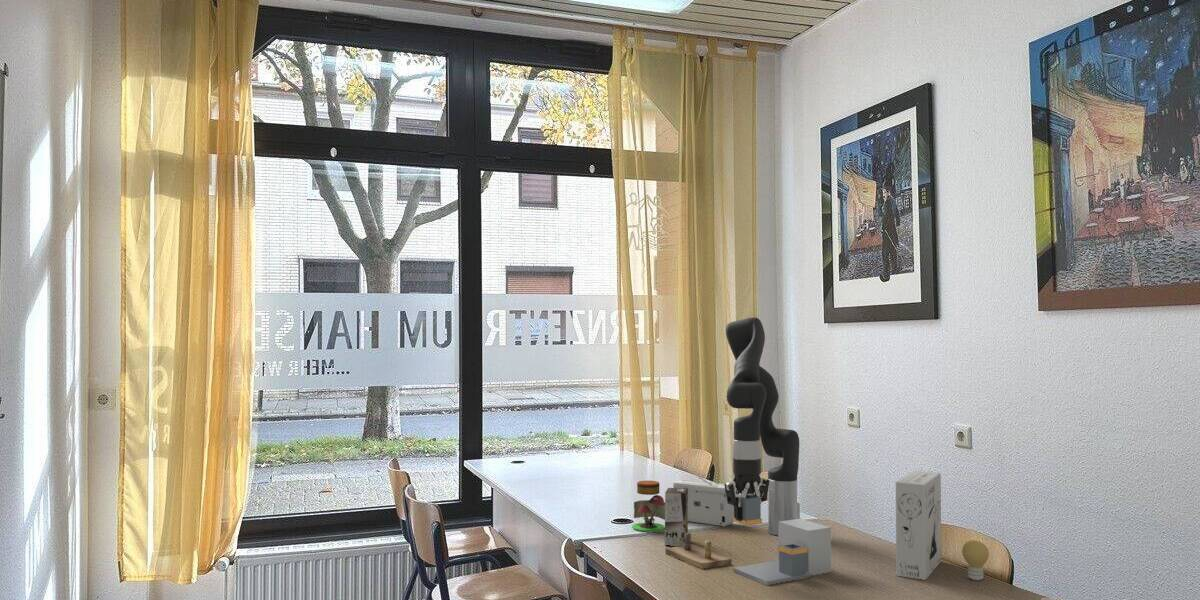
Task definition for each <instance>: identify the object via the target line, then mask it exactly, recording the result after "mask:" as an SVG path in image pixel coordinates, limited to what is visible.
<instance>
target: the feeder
mask: <svg viewBox="0 0 1200 600" xmlns="http://www.w3.org/2000/svg"><path fill="white" fill-rule="evenodd" d="M831 529H832V527H830V526H828V525H823V524H820V523H816V522H814V521H809V520H806V519H802V518H800V519H794V520H787V521H780V522H778V535H777V536H778V538H777V540H778V542H777V543H778V544H777V547H778V546H779V545H784V544H791V543H795V544H798V545H801V546H804V547H807V552H806V574H804V575H798V576H793V577H792V576H789V575H786V574H784V573H781V572H779V550H778V549H777V551H778V560H774V561H773V560H772V561H766V562H761V563H760V562H759V563H754V564H749V565H742V566H741V565H740V566H738V567H737V566H736V567H733V568H732V572H733V573H736V574H737V575H741V576H743V577H744V578H745V577H746V578H748V579H750V580H753V581H755V582H758V583H761V584H763V585H765V586H771V584H772V585H776V583H777V584H781V583H780V582H783V583H787V582H786V581H788V582H793V581H792V580H794V581H798V580H797V579H799V580H803V579H802V578H804V579H810V578H812V576H811V575H813V576H818V575H823V574H822V573H824V574H829V573H832V532H831V531H832V530H831ZM828 572H829V573H828ZM817 574H818V575H817ZM809 577H810V578H809Z"/></svg>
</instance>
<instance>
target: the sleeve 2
mask: <svg viewBox="0 0 1200 600" xmlns="http://www.w3.org/2000/svg"><path fill="white" fill-rule="evenodd" d="M778 550H779V572H781V573H784V574H786V575H789V576H792V577H793V576H798V575H804V574H806V552H807V547H804V546H801V545H798V544H795V543H791V544H784V545H779V546H778V545H777V551H778Z"/></svg>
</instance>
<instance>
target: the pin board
mask: <svg viewBox="0 0 1200 600" xmlns="http://www.w3.org/2000/svg"><path fill="white" fill-rule="evenodd" d="M691 536H692V535H691V533H689V532H688V533H685V534H684V546H671V547H666V548H665V554H666V553H667V554H669V555H668V556H670V555H672V556H674V557H673V558H675V557H676V558H675V559H677V558H678V560H679V559H680V561H682V560H683V561H682V562H684V561H685V562H684V563H686V562H687V563H686V564H689V563H690V564H689V565H691V564H692V566H694V567H696V568H698V567H699V568H698V569H701V570H705V569H711V568H716V567H717V568H718V567H723V566H729V565H732V558H730V557H728V556H725V555H722V554H720V553H717V552H715V551H712V541H711V540H705V541H704V547H702V546H700V545H698V544H694V543H693V544H691V539H692V538H691ZM667 554H666V555H667ZM672 556H671V557H672ZM704 568H705V569H704Z"/></svg>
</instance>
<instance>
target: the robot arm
mask: <svg viewBox="0 0 1200 600" xmlns="http://www.w3.org/2000/svg"><path fill="white" fill-rule="evenodd" d="M725 335H726V339H727V343H728V344H729V347H730V349H731V352H732V354H733V357H734V359H735V363H734V367H733V371H734V372H733V378H732V379H731V382H730V384H729V385H728V387H727V390H726V402H727V403H728V405H729V406H730V407H731V408H733V409H748V410H749V409H751V410H752V412H751V413H749V414H748V415H745V416H740V417H737V418H735V419H734V421H733V443H732V473H733V475H734V476H733V477H734V478H733V480H732V481H729V482H727V481H726V482H724V483H723V484H724V486H725V491H726V497H727V503H728V504H731V505H733V506H734V518H735V519H736V520H737V521H742V507H741V506H742V503H743V499H745V497H746V495H748V494H749V495H752V496H756V497H761V504H762V503H764V502H766V501H767V527H768V528H767V532H768V534H770V535H773V536H778V522H780V521H787V520H794V519H801V510H800V509H801V508H800V507H801V504H800V503H799V502H798V474H799V460H800V437H799V434H798V432H797V431H796V430H794V429H789V428H788V429H786V428H777V427H776V426H775V425H774V423H773V415H774V412H775V410H776V408H777V406H778V402H779V391H778V388H777V385H776V382H775V379H774V377H773V375H771V373H770V372H768V370H766V369H765V368H764V367H762V366H761V365H760V364H761V363H760V362H761V358H762V355H763V351H764V346H765V343H766V342H765V341H766V334H765V329H764V326H763V323H762V321H761V319H759V317H747V318H742V319H738V320H735V321H731V322H728V323H727V324H726V325H725ZM761 446H762V447H761ZM762 449H763V451H764V453H765V454H766V455H767V456H768V457H773V458H781V459H783V460H782V463H781V465H778V466H777V467H776V466H775V467H772V468H770V469H769V470H768V471H767V478H763V477H761V474H762ZM735 487H736V490H735ZM734 490H735V491H734ZM738 498H739V500H738Z"/></svg>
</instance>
